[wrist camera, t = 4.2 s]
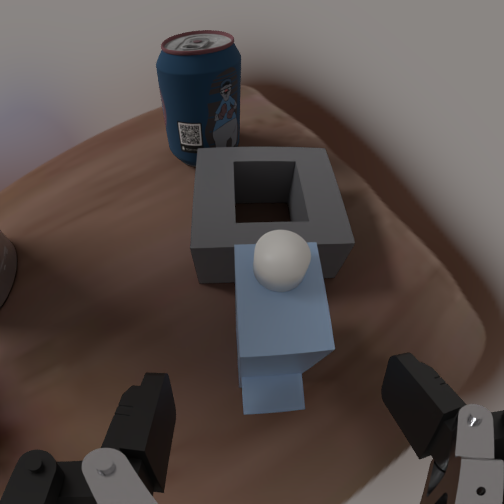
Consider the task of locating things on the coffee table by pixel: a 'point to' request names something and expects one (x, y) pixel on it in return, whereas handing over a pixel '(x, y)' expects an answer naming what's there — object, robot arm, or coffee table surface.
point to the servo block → (279, 320)
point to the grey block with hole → (265, 191)
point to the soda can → (200, 92)
